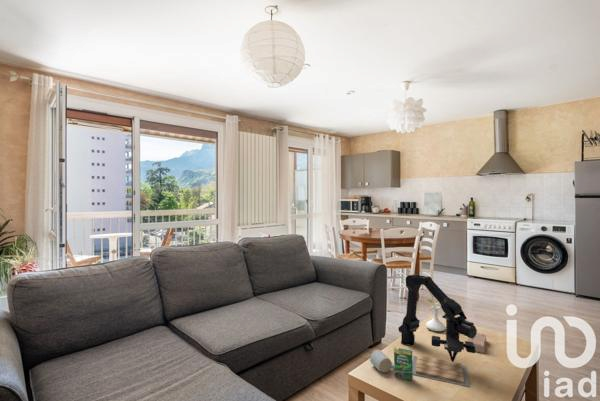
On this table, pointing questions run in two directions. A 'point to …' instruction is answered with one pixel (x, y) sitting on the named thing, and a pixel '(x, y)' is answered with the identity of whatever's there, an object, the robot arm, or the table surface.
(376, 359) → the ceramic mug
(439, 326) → the flower in vase
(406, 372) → the coffee box
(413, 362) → the underlay
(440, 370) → the laid board
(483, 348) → the brick
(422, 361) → the click plank
